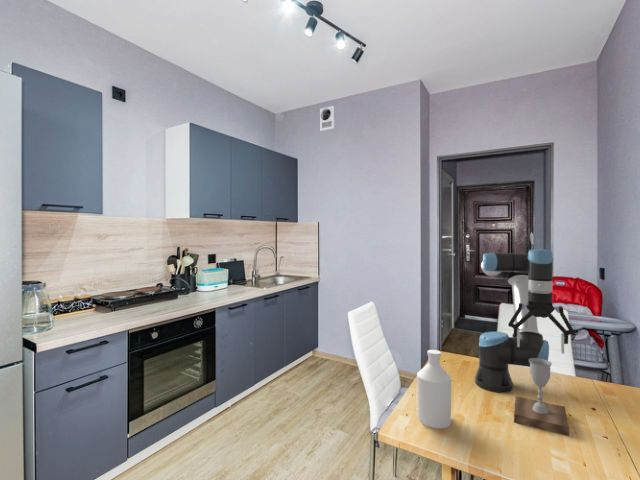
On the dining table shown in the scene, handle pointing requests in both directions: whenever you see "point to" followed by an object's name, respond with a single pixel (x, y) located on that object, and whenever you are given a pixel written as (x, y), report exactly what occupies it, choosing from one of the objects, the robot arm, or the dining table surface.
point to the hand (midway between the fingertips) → (539, 349)
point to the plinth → (541, 416)
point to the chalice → (540, 380)
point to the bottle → (434, 393)
